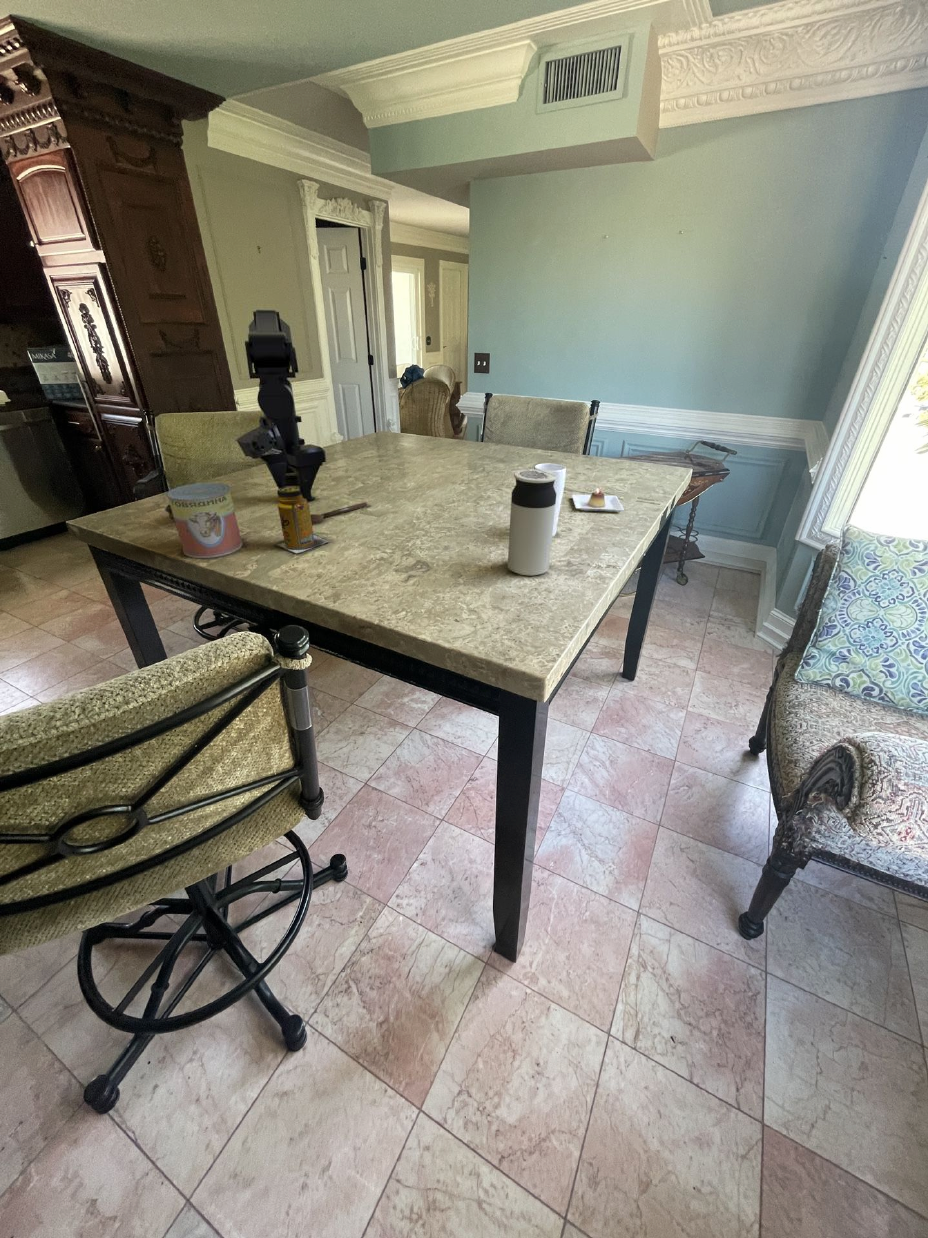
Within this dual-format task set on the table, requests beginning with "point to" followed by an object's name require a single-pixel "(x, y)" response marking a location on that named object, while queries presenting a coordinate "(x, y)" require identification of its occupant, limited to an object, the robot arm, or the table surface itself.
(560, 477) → the drinking glass
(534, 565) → the travel mug
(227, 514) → the canned food
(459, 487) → the table surface
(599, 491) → the dessert
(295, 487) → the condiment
